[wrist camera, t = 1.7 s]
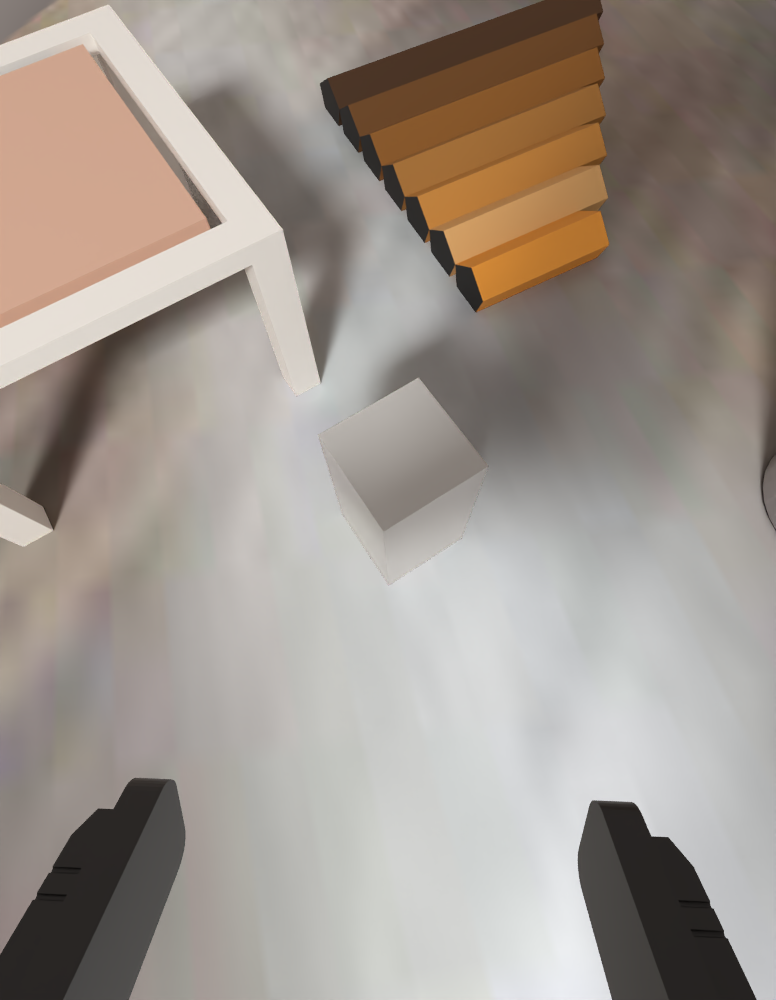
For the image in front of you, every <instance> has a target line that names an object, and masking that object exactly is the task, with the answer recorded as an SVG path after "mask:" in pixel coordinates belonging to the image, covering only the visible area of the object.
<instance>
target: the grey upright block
mask: <svg viewBox="0 0 776 1000" xmlns="http://www.w3.org/2000/svg"><path fill="white" fill-rule="evenodd" d="M318 436H319V440H320V443H321V446H322V450H323V453H324V456H325V459H326V463H327V466H328V469H329V473H330V476H331V479H332V482H333V486H334V489H335V492H336V496H337V499H338V502H339V506H340V509H341V512H342V515H343V517H344V518H345V520H346V521H347V523H348V524H349V526H350V527H351V529H352V531H353V532H354V534H355V535H356V537H357V538H358V540H359V541H360V543H361V544H362V546H363V547H364V549H365V550H366V552H367V553H368V555H369V557H370V558H371V560H372V561H373V563H374V564H375V566H376V567H377V569H378V570H379V572H380V573H381V575H382V576H383V578H384V579H385V581H386V582H387V584H388V586H389V585H391V584H392V583H394V582H396V581H397V580H399V579H400V578H402V577H403V576H405V575H406V574H408V573H409V572H411V571H413V570H414V569H416V568H417V567H419V566H420V565H422V564H423V563H425V562H427V561H428V560H430V559H431V558H433V557H434V556H436V555H437V554H439V553H440V552H442V551H444V550H445V549H447V548H448V547H450V546H451V545H453V544H454V543H456V542H457V541H459V540H461V539H462V537H463V534H464V531H465V529H466V526H467V523H468V521H469V518H470V515H471V513H472V510H473V507H474V505H475V502H476V499H477V497H478V494H479V491H480V488H481V486H482V483H483V480H484V478H485V475H486V472H487V470H488V467H489V466H488V465H487V463H486V462H485V461H484V459H483V458H482V457H481V456H480V454H479V453H478V452H477V451H476V449H475V448H474V447H473V446H472V444H471V443H470V442H469V441H468V439H467V438H466V437H465V435H464V434H463V433H462V432H461V430H460V429H459V428H458V427H457V425H456V424H455V423H454V422H453V420H452V419H451V418H450V416H449V415H448V414H447V413H446V411H445V410H444V409H443V408H442V406H441V405H440V404H439V403H438V401H437V400H436V399H435V398H434V396H433V395H432V394H431V392H430V391H429V390H428V389H427V387H426V386H425V385H424V384H423V382H422V381H421V380H420V379H419V378H417V379H415V380H413V381H412V382H410V383H408V384H406V385H405V386H403V387H401V388H399V389H398V390H396V391H394V392H392V393H391V394H389V395H387V396H385V397H384V398H382V399H380V400H378V401H377V402H375V403H373V404H371V405H370V406H368V407H366V408H364V409H362V410H361V411H359V412H357V413H355V414H354V415H352V416H350V417H348V418H347V419H345V420H343V421H341V422H340V423H338V424H336V425H334V426H333V427H331V428H329V429H327V430H326V431H324V432H322V433H320V434H319V435H318Z"/></svg>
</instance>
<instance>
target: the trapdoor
mask: <svg viewBox="0 0 776 1000" xmlns="http://www.w3.org/2000/svg"><path fill="white" fill-rule="evenodd" d="M208 230H210V226H209V224H208V221H207V219H206V217H205V216H204V214H203V213H202V211H201V210H200V209H199V207H198V206H197V204H196V203H195V202H194V200H193V199H192V197H191V196H190V194H189V193H188V192H187V190H186V189H185V187H184V186H183V185H182V183H181V182H180V180H179V179H178V178H177V176H176V175H175V173H174V172H173V171H172V169H171V168H170V166H169V165H168V163H167V162H166V161H165V159H164V158H163V156H162V155H161V154H160V152H159V151H158V149H157V148H156V147H155V145H154V144H153V142H152V141H151V139H150V138H149V137H148V135H147V134H146V132H145V131H144V130H143V128H142V127H141V125H140V124H139V123H138V121H137V120H136V118H135V117H134V116H133V114H132V113H131V111H130V110H129V108H128V107H127V106H126V104H125V103H124V101H123V100H122V99H121V97H120V96H119V94H118V93H117V92H116V90H115V89H114V87H113V86H112V85H111V83H110V82H109V80H108V79H107V77H106V76H105V75H104V73H103V72H102V70H101V69H100V68H99V66H98V65H97V63H96V62H95V61H94V59H93V58H92V56H91V55H90V54H89V52H88V51H87V49H86V48H85V46H84V45H83V44H82V45H79V46H76V47H74V48H71V49H69V50H66V51H63V52H61V53H58V54H56V55H53V56H50V57H48V58H45V59H43V60H40V61H37V62H35V63H32V64H30V65H27V66H24V67H22V68H19V69H17V70H14V71H11V72H9V73H6V74H4V75H1V76H0V328H2V327H4V326H6V325H8V324H11V323H13V322H15V321H17V320H19V319H21V318H23V317H25V316H27V315H30V314H32V313H34V312H36V311H38V310H40V309H42V308H44V307H47V306H49V305H51V304H53V303H55V302H57V301H59V300H61V299H64V298H66V297H68V296H70V295H72V294H74V293H76V292H78V291H81V290H83V289H85V288H87V287H89V286H91V285H93V284H95V283H97V282H100V281H102V280H104V279H106V278H108V277H110V276H112V275H114V274H117V273H119V272H121V271H123V270H125V269H127V268H129V267H131V266H134V265H136V264H138V263H140V262H142V261H144V260H146V259H148V258H150V257H153V256H155V255H157V254H159V253H161V252H163V251H165V250H167V249H170V248H172V247H174V246H176V245H178V244H180V243H182V242H184V241H187V240H189V239H191V238H193V237H195V236H197V235H199V234H201V233H204V232H206V231H208Z"/></svg>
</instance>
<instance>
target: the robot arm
mask: <svg viewBox="0 0 776 1000" xmlns="http://www.w3.org/2000/svg"><path fill="white" fill-rule="evenodd" d="M763 494H764V503H765V506H766V509H767V512H768V515H769V518H770V520H771V522H772V523H773V525H774V527H775V529H776V454H775V455H774V456H773V458H772V459H771V460H770V462H769V465H768V467H767V469H766V471H765V476H764V482H763ZM184 846H185V826H184V821H183V816H182V811H181V806H180V801H179V796H178V791H177V786H176V783H175V781H174V780H171V779H149V778H134V779H132V780H131V781H130V782H129V783H128V784H127V786H126V787H125V789H124V791H123V793H122V795H121V796H120V798H119V800H118V802H117V804H116V806H115V807H114V809H97V810H96V811H95V812H94V813H93V814H92V815H91V816H90V817H89V818H88V819H87V820H86V821H85V822H84V823H83V824H82V825H81V826H80V827H79V828H78V829H77V830H76V831H75V832H74V833H73V834H72V835H71V837H70V838H69V840H68V842H67V843H66V845H65V847H64V848H63V850H62V852H61V853H60V855H59V857H58V859H57V860H56V862H55V864H54V865H53V870H52V872H51V873H49V874H48V875H47V877H46V879H45V880H44V882H43V884H42V885H41V887H40V889H39V891H38V892H37V897H36V899H35V900H33V901H32V902H31V904H30V906H29V907H28V909H27V911H26V912H25V914H24V916H23V917H22V919H21V921H20V922H19V924H18V926H17V928H16V929H15V931H14V933H13V934H12V936H11V938H10V939H9V941H8V943H7V944H6V946H5V948H4V949H3V951H2V953H1V954H0V1000H129V997H130V995H131V992H132V990H133V987H134V984H135V982H136V979H137V977H138V974H139V971H140V969H141V966H142V963H143V961H144V958H145V956H146V953H147V950H148V948H149V945H150V943H151V940H152V937H153V935H154V932H155V929H156V927H157V924H158V922H159V919H160V916H161V914H162V911H163V909H164V906H165V903H166V901H167V898H168V896H169V893H170V890H171V888H172V885H173V882H174V880H175V877H176V875H177V872H178V869H179V867H180V864H181V860H182V856H183V852H184ZM578 871H579V878H580V884H581V888H582V892H583V896H584V899H585V903H586V907H587V910H588V914H589V917H590V921H591V925H592V928H593V932H594V936H595V939H596V943H597V946H598V950H599V954H600V957H601V961H602V964H603V968H604V972H605V975H606V979H607V982H608V986H609V990H610V993H611V997H612V1000H756V997H755V995H754V993H753V991H752V989H751V987H750V985H749V983H748V981H747V978H746V976H745V974H744V972H743V970H742V968H741V966H740V964H739V962H738V959H737V957H736V955H735V953H734V951H733V949H732V947H731V945H730V943H729V940H728V939H727V938H725V936H724V930H723V928H722V926H721V924H720V922H719V919H718V917H717V915H716V913H715V911H714V909H712V908H711V906H710V900H709V898H708V896H707V894H706V892H705V890H704V888H703V886H702V884H701V881H700V879H699V877H698V875H697V873H696V871H695V869H694V867H693V866H692V865H691V863H690V862H689V861H688V860H687V859H686V857H685V856H684V855H683V854H682V853H681V852H680V850H679V849H678V848H677V847H676V846H675V845H674V843H673V842H672V841H671V840H670V839H669V838H668V837H651V835H650V833H649V830H648V828H647V826H646V823H645V821H644V819H643V816H642V814H641V812H640V810H639V808H638V807H637V806H636V804H634V803H633V802H617V801H595V800H594V801H592V802H591V803H590V806H589V810H588V814H587V818H586V822H585V826H584V830H583V834H582V838H581V842H580V846H579V851H578Z"/></svg>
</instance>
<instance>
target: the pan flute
mask: <svg viewBox="0 0 776 1000" xmlns="http://www.w3.org/2000/svg"><path fill="white" fill-rule="evenodd" d="M602 13H603V9H602V5H601V1H600V0H544V1H541V2H538V3H536V4H533V5H530V6H527V7H525V8H522V9H519V10H516V11H513V12H511V13H508V14H505V15H502V16H500V17H497V18H494V19H491V20H488V21H486V22H483V23H480V24H477V25H475V26H472V27H469V28H466V29H463V30H461V31H458V32H455V33H452V34H450V35H447V36H444V37H441V38H438V39H436V40H433V41H430V42H427V43H425V44H422V45H419V46H416V47H413V48H411V49H408V50H405V51H402V52H400V53H397V54H394V55H391V56H388V57H386V58H383V59H380V60H377V61H375V62H372V63H369V64H366V65H363V66H361V67H358V68H355V69H352V70H350V71H347V72H344V73H341V74H338V75H336V76H333V77H330V78H327V79H326V80H324V81H323V82H321V83H320V86H321V90H322V95H323V100H324V104H325V108H326V109H327V111H328V112H329V113H330V115H331V116H332V117H333V119H334V120H335V122H336V123H337V124H338V126H340V125H343V130H344V134H345V135H346V137H347V138H348V139H349V141H350V142H351V143H352V145H353V146H354V147H355V149H356V150H357V151H358V153H359V152H362V151H363V157H364V161H365V162H366V164H367V165H368V166H369V168H370V169H371V171H372V172H373V173H374V175H375V176H376V177H377V179H378V180H379V181H381V180H383V179H384V184H385V190H386V191H387V192H388V194H389V195H390V196H391V198H392V199H393V200H394V202H395V203H396V205H397V206H398V207H399V209H400V210H401V211H403V210H405V209H406V210H407V217H408V221H409V222H410V224H411V225H412V226H413V228H414V229H415V230H416V232H417V233H418V234H419V236H420V237H421V239H422V240H423V241H424V243H425V242H428V241H430V242H431V251H432V253H433V255H434V256H435V258H436V259H437V260H438V262H439V263H440V264H441V266H442V267H443V268H444V270H445V271H446V273H447V274H448V275H449V277H450V276H452V275H454V274H456V282H457V287H458V289H459V290H460V292H461V293H462V294H463V296H464V297H465V298H466V300H467V301H468V302H469V304H470V305H471V307H472V308H473V309H474V311H475V312H478V311H480V310H482V309H485V308H487V307H489V306H491V305H493V304H496V303H498V302H500V301H502V300H504V299H507V298H509V297H511V296H513V295H515V294H518V293H520V292H522V291H524V290H526V289H529V288H531V287H533V286H535V285H537V284H540V283H542V282H544V281H546V280H548V279H551V278H553V277H555V276H557V275H559V274H562V273H564V272H566V271H568V270H570V269H573V268H575V267H577V266H579V265H581V264H584V263H586V262H588V261H590V260H592V259H595V258H597V257H598V256H599V255H600V254H601V253H602V252H603V251H604V250H605V249H606V248H607V247H608V245H609V241H608V238H607V234H606V230H605V226H604V223H603V219H602V215H601V211H598V210H599V208H600V207H601V206H602V205H603V203H604V202H605V201H606V200H607V199H608V195H607V192H606V188H605V184H604V180H603V176H602V173H601V169H600V164H601V162H602V161H603V160H604V158H605V157H606V155H607V153H606V149H605V145H604V141H603V138H602V134H601V130H600V126H599V125H600V123H601V122H602V120H603V119H604V117H605V116H606V114H605V110H604V106H603V102H602V98H601V94H600V90H599V87H600V85H601V84H602V82H603V80H604V79H605V77H604V73H603V69H602V65H601V60H600V56H599V52H600V50H601V48H602V46H603V44H604V42H603V38H602V34H601V30H600V26H599V22H598V20H599V18H600V17H601V15H602Z"/></svg>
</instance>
